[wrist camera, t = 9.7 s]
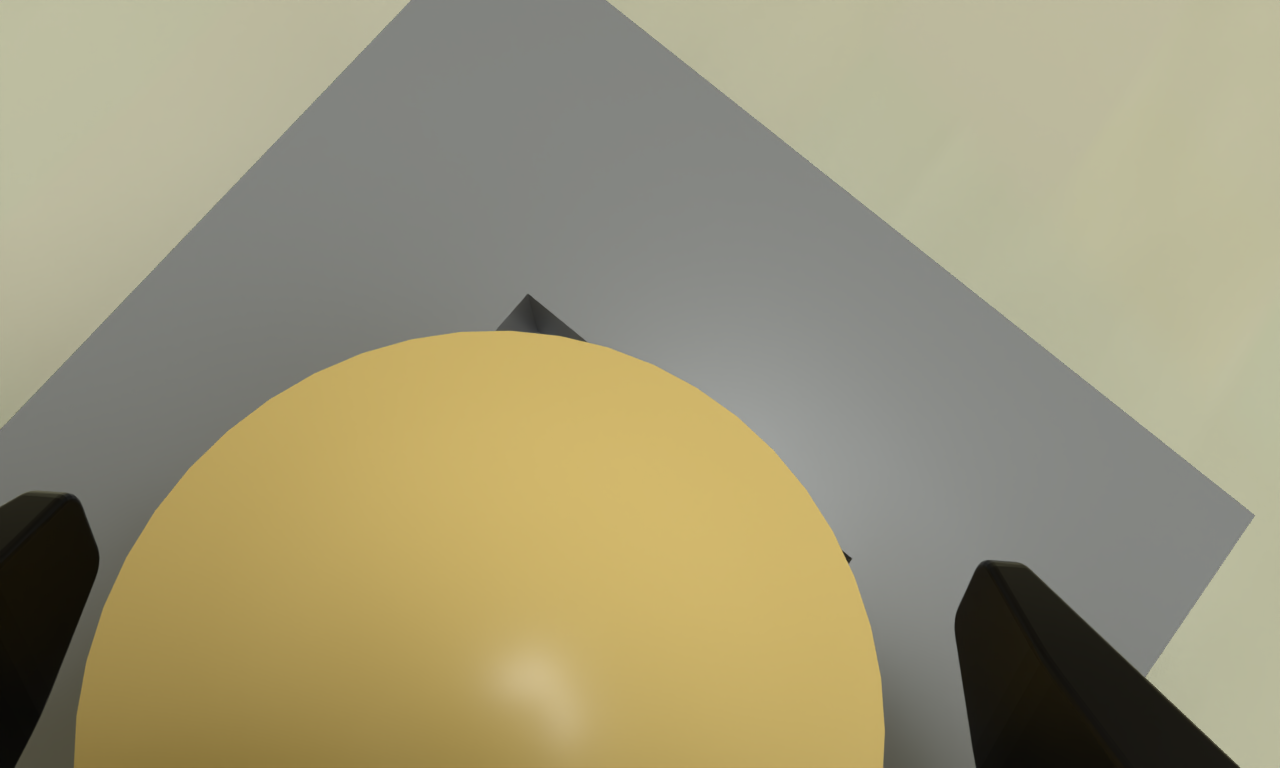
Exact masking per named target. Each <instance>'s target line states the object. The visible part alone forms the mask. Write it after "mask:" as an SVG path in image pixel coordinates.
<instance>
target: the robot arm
mask: <svg viewBox="0 0 1280 768" xmlns="http://www.w3.org/2000/svg"><path fill="white" fill-rule="evenodd" d="M99 562H100V556H99V549H98V546H97V543H96V541H95V538H94V535H93V533H92V530H91V527H90V525H89V522H88V519H87V516H86V514H85V511H84V508H83V506H82V503H81V501H80V500H79V499H78V498H77V497H76V496H75V495H74V494H70V493H66V492H52V491H38V490H35V491H28V492H25V493H23V494H21V495H19V496H17V497H15V498H14V499H12V500H10V501H9V502H7V503H5V504H3V505H2V506H0V768H15V766H16V764H17V762H18V760H19V758H20V757H21V755H22V753H23V751H24V749H25V747H26V745H27V743H28V741H29V739H30V737H31V735H32V733H33V731H34V729H35V727H36V725H37V723H38V721H39V719H40V717H41V715H42V712H43V710H44V708H45V705H46V703H47V701H48V698H49V696H50V694H51V691H52V689H53V686H54V684H55V681H56V679H57V676H58V673H59V671H60V668H61V666H62V663H63V661H64V658H65V656H66V653H67V650H68V648H69V645H70V643H71V640H72V638H73V635H74V633H75V630H76V628H77V625H78V622H79V620H80V617H81V615H82V612H83V610H84V607H85V605H86V602H87V599H88V597H89V594H90V592H91V589H92V587H93V584H94V582H95V579H96V576H97V573H98V569H99ZM954 632H955V639H956V646H957V652H958V659H959V665H960V672H961V678H962V685H963V691H964V698H965V704H966V711H967V717H968V724H969V730H970V737H971V743H972V750H973V755H974V761H975V766H976V768H1240V767H1239V766H1238V765H1237V764H1236V763H1235V762H1234V761H1233V760H1232V759H1231V758H1230V757H1229V756H1228V755H1227V754H1225V753H1224V752H1223V751H1222V750H1221V749H1220V748H1219V747H1218V746H1217V745H1216V744H1215V743H1214V742H1213V741H1212V740H1211V739H1210V738H1209V737H1208V736H1206V735H1205V734H1204V733H1203V732H1202V731H1201V730H1200V729H1199V728H1198V727H1197V726H1196V725H1195V724H1194V723H1193V722H1192V721H1191V720H1190V719H1188V718H1187V717H1186V716H1185V715H1184V714H1183V713H1182V712H1181V711H1180V710H1179V709H1178V708H1177V707H1176V706H1175V705H1174V704H1173V703H1172V702H1170V701H1169V700H1168V699H1167V698H1166V697H1165V696H1164V695H1163V694H1162V693H1161V692H1160V691H1159V690H1158V689H1157V688H1156V687H1155V686H1154V685H1153V684H1151V683H1150V682H1149V681H1148V680H1147V679H1146V678H1145V677H1144V676H1143V675H1142V674H1141V673H1140V672H1139V671H1138V670H1137V669H1136V668H1135V667H1133V666H1132V665H1131V664H1130V663H1129V662H1128V661H1127V660H1126V659H1125V658H1124V657H1123V656H1122V655H1121V654H1120V653H1119V652H1118V651H1117V650H1115V649H1114V648H1113V647H1112V646H1111V645H1110V644H1109V643H1108V642H1107V641H1106V640H1105V639H1104V638H1103V637H1102V636H1101V635H1100V634H1099V633H1098V632H1096V631H1095V630H1094V629H1093V628H1092V627H1091V626H1090V625H1089V624H1088V623H1087V622H1086V621H1085V620H1084V619H1083V618H1082V617H1081V616H1080V615H1078V614H1077V613H1076V612H1075V611H1074V610H1073V609H1072V608H1071V607H1070V606H1069V605H1068V604H1067V603H1066V602H1065V601H1064V600H1063V599H1062V598H1060V597H1059V596H1058V595H1057V594H1056V593H1055V592H1054V591H1053V590H1052V589H1051V588H1050V587H1049V586H1048V585H1047V584H1046V583H1045V582H1044V581H1043V580H1041V579H1040V578H1039V577H1038V576H1037V575H1036V574H1035V573H1034V572H1033V571H1032V570H1031V569H1030V568H1028V567H1027V566H1026V565H1024V564H1022V563H1019V562H1012V561H999V560H984V561H982V562H981V563H980V564H979V565H978V566H977V568H976V569H975V571H974V573H973V576H972V578H971V580H970V582H969V584H968V587H967V589H966V591H965V593H964V595H963V598H962V600H961V602H960V604H959V606H958V609H957V612H956V615H955V623H954Z"/></svg>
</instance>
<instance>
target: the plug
mask: <svg viewBox="0 0 1280 768" xmlns="http://www.w3.org/2000/svg"><path fill="white" fill-rule="evenodd" d="M884 739H885V726H884V712H883V698H882V683H881V675H880V670H879V665H878V660H877V655H876V650H875V645H874V639H873V634H872V629H871V625H870V622H869V619H868V616H867V613H866V610H865V607H864V604H863V601H862V598H861V595H860V592H859V589H858V586H857V583H856V580H855V577H854V575H853V573H852V571H851V569H850V566H849V564H848V562H847V560H846V558H845V556H844V554H843V552H842V550H841V547H840V545H839V543H838V541H837V539H836V537H835V535H834V533H833V531H832V529H831V528H830V526H829V525H828V523H827V521H826V520H825V518H824V517H823V515H822V514H821V512H820V510H819V509H818V507H817V506H816V504H815V503H814V501H813V499H812V498H811V496H810V495H809V493H808V492H807V490H806V489H805V487H804V486H803V485H802V484H801V483H800V481H799V480H798V479H797V478H796V477H795V475H794V474H793V473H792V472H791V471H790V469H789V468H788V467H787V466H786V465H785V463H784V462H783V461H782V460H781V459H780V457H779V456H778V455H777V454H776V453H775V451H774V450H773V449H772V448H770V447H769V446H768V445H767V444H766V443H765V442H764V441H763V440H762V439H761V438H760V437H759V436H758V435H756V434H755V433H754V432H753V431H752V430H751V429H750V428H749V427H748V426H747V425H746V424H745V423H744V422H742V421H741V420H740V419H739V418H738V417H737V416H736V415H734V414H733V413H731V412H730V411H729V410H727V409H726V408H724V407H723V406H722V405H720V404H719V403H717V402H716V401H715V400H713V399H712V398H710V397H709V396H708V395H706V394H705V393H703V392H702V391H701V390H699V389H698V388H696V387H694V386H692V385H691V384H689V383H687V382H685V381H683V380H681V379H679V378H677V377H676V376H674V375H672V374H670V373H668V372H666V371H664V370H662V369H661V368H659V367H657V366H655V365H653V364H650V363H648V362H645V361H642V360H640V359H637V358H634V357H632V356H629V355H626V354H624V353H621V352H619V351H616V350H613V349H611V348H608V347H604V346H600V345H596V344H591V343H587V342H583V341H579V340H575V339H570V338H566V337H562V336H555V335H546V334H536V333H527V332H517V331H479V332H457V333H450V334H444V335H437V336H430V337H424V338H417V339H411V340H407V341H404V342H400V343H397V344H393V345H389V346H386V347H382V348H379V349H375V350H372V351H368V352H365V353H361V354H359V355H357V356H354V357H352V358H350V359H347V360H345V361H343V362H340V363H338V364H335V365H333V366H331V367H328V368H326V369H324V370H321V371H319V372H317V373H314V374H313V375H311V376H309V377H307V378H306V379H304V380H302V381H301V382H299V383H297V384H295V385H294V386H292V387H290V388H288V389H287V390H285V391H283V392H282V393H280V394H278V395H276V396H275V397H273V398H271V399H269V400H268V401H267V402H265V403H264V404H263V405H262V406H260V407H259V408H258V409H256V410H255V411H254V412H252V413H251V414H250V415H248V416H247V417H246V418H244V419H243V420H242V421H240V422H239V423H238V424H236V425H235V426H234V427H233V428H231V429H230V430H229V431H227V432H226V433H225V434H224V435H223V436H222V437H221V438H220V439H219V440H218V441H217V442H216V443H215V444H214V445H213V446H212V447H211V448H210V449H209V450H208V451H207V452H206V453H205V454H204V455H203V456H202V457H201V458H200V459H198V460H197V461H196V462H195V463H194V464H193V465H192V466H191V467H190V468H189V469H188V471H187V472H186V473H185V474H184V476H183V477H182V478H181V479H180V481H179V482H178V483H177V484H176V486H175V487H174V488H173V489H172V491H171V492H170V493H169V494H168V496H167V497H166V498H165V499H164V500H163V502H162V503H161V504H160V505H159V507H158V508H157V509H156V510H155V512H154V514H153V515H152V517H151V518H150V520H149V522H148V523H147V525H146V526H145V528H144V530H143V531H142V533H141V535H140V536H139V538H138V539H137V541H136V543H135V544H134V546H133V548H132V549H131V551H130V552H129V554H128V556H127V557H126V559H125V561H124V564H123V566H122V568H121V570H120V572H119V575H118V577H117V579H116V581H115V583H114V585H113V588H112V590H111V592H110V594H109V596H108V599H107V601H106V603H105V605H104V607H103V610H102V613H101V617H100V620H99V623H98V626H97V629H96V632H95V636H94V639H93V642H92V645H91V648H90V651H89V655H88V658H87V661H86V666H85V672H84V677H83V683H82V688H81V694H80V700H79V705H78V711H77V716H76V735H75V754H74V768H883V757H884Z"/></svg>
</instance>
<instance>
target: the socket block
mask: <svg viewBox="0 0 1280 768" xmlns="http://www.w3.org/2000/svg"><path fill="white" fill-rule="evenodd" d="M479 331H517V332H527V333H536V334H546V335H555V336H562V337H566V338H570V339H575V340H579V341H583V342H587V343H591V344H596V345H600V346H604V347H608V348H611V349H613V350H616V351H619V352H621V353H624V354H626V355H629V356H632V357H634V358H637V359H640V360H642V361H645V362H648V363H650V364H653V365H655V366H657V367H659V368H661V369H662V370H664V371H666V372H668V373H670V374H672V375H674V376H676V377H677V378H679V379H681V380H683V381H685V382H687V383H689V384H691V385H692V386H694V387H696V388H698V389H699V390H701V391H702V392H703V393H705V394H706V395H708V396H709V397H710V398H712V399H713V400H715V401H716V402H717V403H719V404H720V405H722V406H723V407H724V408H726V409H727V410H729V411H730V412H731V413H733V414H734V415H736V416H737V417H738V418H739V419H740V420H741V421H742V422H744V423H745V424H746V425H747V426H748V427H749V428H750V429H751V430H752V431H753V432H754V433H755V434H756V435H758V436H759V437H760V438H761V439H762V440H763V441H764V442H765V443H766V444H767V445H768V446H769V447H770V448H772V449H773V450H774V451H775V453H776V454H777V455H778V456H779V457H780V459H781V460H782V461H783V462H784V463H785V465H786V466H787V467H788V468H789V469H790V471H791V472H792V473H793V474H794V475H795V477H796V478H797V479H798V480H799V481H800V483H801V484H802V485H803V486H804V487H805V489H806V490H807V492H808V493H809V495H810V496H811V498H812V499H813V501H814V503H815V504H816V506H817V507H818V509H819V510H820V512H821V514H822V515H823V517H824V518H825V520H826V521H827V523H828V525H829V526H830V528H831V529H832V531H833V533H834V535H835V537H836V539H837V541H838V543H839V545H840V547H841V550H842V552H843V554H844V556H845V558H846V560H847V562H848V564H849V566H850V569H851V571H852V573H853V575H854V577H855V580H856V583H857V586H858V589H859V592H860V595H861V598H862V601H863V604H864V607H865V610H866V613H867V616H868V619H869V622H870V625H871V629H872V634H873V639H874V645H875V650H876V655H877V660H878V665H879V670H880V675H881V683H882V698H883V712H884V726H885V739H884V757H883V768H976V766H975V761H974V755H973V750H972V743H971V737H970V730H969V724H968V717H967V711H966V704H965V698H964V691H963V685H962V678H961V672H960V665H959V659H958V652H957V646H956V639H955V632H954V623H955V615H956V612H957V609H958V606H959V604H960V602H961V600H962V598H963V595H964V593H965V591H966V589H967V587H968V584H969V582H970V580H971V578H972V576H973V573H974V571H975V569H976V568H977V566H978V565H979V564H980V563H981V562H982V561H984V560H999V561H1012V562H1019V563H1022V564H1024V565H1026V566H1027V567H1028V568H1030V569H1031V570H1032V571H1033V572H1034V573H1035V574H1036V575H1037V576H1038V577H1039V578H1040V579H1041V580H1043V581H1044V582H1045V583H1046V584H1047V585H1048V586H1049V587H1050V588H1051V589H1052V590H1053V591H1054V592H1055V593H1056V594H1057V595H1058V596H1059V597H1060V598H1062V599H1063V600H1064V601H1065V602H1066V603H1067V604H1068V605H1069V606H1070V607H1071V608H1072V609H1073V610H1074V611H1075V612H1076V613H1077V614H1078V615H1080V616H1081V617H1082V618H1083V619H1084V620H1085V621H1086V622H1087V623H1088V624H1089V625H1090V626H1091V627H1092V628H1093V629H1094V630H1095V631H1096V632H1098V633H1099V634H1100V635H1101V636H1102V637H1103V638H1104V639H1105V640H1106V641H1107V642H1108V643H1109V644H1110V645H1111V646H1112V647H1113V648H1114V649H1115V650H1117V651H1118V652H1119V653H1120V654H1121V655H1122V656H1123V657H1124V658H1125V659H1126V660H1127V661H1128V662H1129V663H1130V664H1131V665H1132V666H1133V667H1135V668H1136V669H1137V670H1138V671H1139V672H1140V673H1141V674H1142V675H1143V676H1144V677H1146V675H1147V674H1148V672H1149V671H1150V669H1151V668H1152V666H1153V665H1154V664H1155V662H1156V661H1157V659H1158V658H1159V656H1160V655H1161V653H1162V652H1163V650H1164V649H1165V647H1166V646H1167V644H1168V643H1169V641H1170V640H1171V638H1172V637H1173V636H1174V634H1175V633H1176V631H1177V630H1178V628H1179V627H1180V625H1181V624H1182V622H1183V621H1184V619H1185V618H1186V616H1187V615H1188V613H1189V612H1190V610H1191V609H1192V608H1193V606H1194V605H1195V603H1196V602H1197V600H1198V599H1199V597H1200V596H1201V594H1202V593H1203V591H1204V590H1205V588H1206V587H1207V585H1208V584H1209V582H1210V581H1211V580H1212V578H1213V577H1214V575H1215V574H1216V572H1217V571H1218V569H1219V568H1220V566H1221V565H1222V563H1223V562H1224V560H1225V559H1226V557H1227V556H1228V554H1229V553H1230V552H1231V550H1232V549H1233V547H1234V546H1235V544H1236V543H1237V541H1238V540H1239V538H1240V537H1241V535H1242V534H1243V532H1244V531H1245V529H1246V528H1247V526H1248V525H1249V524H1250V522H1251V521H1252V519H1253V518H1254V516H1255V515H1254V514H1253V513H1251V512H1250V511H1249V510H1248V509H1246V508H1245V507H1244V506H1243V505H1241V504H1240V503H1239V502H1237V501H1236V500H1235V499H1234V498H1232V497H1231V496H1230V495H1229V494H1227V493H1226V492H1225V491H1224V490H1222V489H1221V488H1220V487H1219V486H1217V485H1216V484H1215V483H1214V482H1212V481H1211V480H1210V479H1208V478H1207V477H1206V476H1205V475H1203V474H1202V473H1201V472H1200V471H1198V470H1197V469H1196V468H1195V467H1193V466H1192V465H1191V464H1190V463H1188V462H1187V461H1186V460H1185V459H1183V458H1182V457H1181V456H1179V455H1178V454H1177V453H1176V452H1174V451H1173V450H1172V449H1171V448H1169V447H1168V446H1167V445H1166V444H1164V443H1163V442H1162V441H1161V440H1159V439H1158V438H1157V437H1156V436H1154V435H1153V434H1152V433H1151V432H1149V431H1148V430H1147V429H1145V428H1144V427H1143V426H1142V425H1140V424H1139V423H1138V422H1137V421H1135V420H1134V419H1133V418H1132V417H1130V416H1129V415H1128V414H1127V413H1125V412H1124V411H1123V410H1122V409H1120V408H1119V407H1118V406H1116V405H1115V404H1114V403H1113V402H1111V401H1110V400H1109V399H1108V398H1106V397H1105V396H1104V395H1103V394H1101V393H1100V392H1099V391H1098V390H1096V389H1095V388H1094V387H1093V386H1091V385H1090V384H1089V383H1087V382H1086V381H1085V380H1084V379H1082V378H1081V377H1080V376H1079V375H1077V374H1076V373H1075V372H1074V371H1072V370H1071V369H1070V368H1069V367H1067V366H1066V365H1065V364H1064V363H1062V362H1061V361H1060V360H1059V359H1057V358H1056V357H1055V356H1053V355H1052V354H1051V353H1050V352H1048V351H1047V350H1046V349H1045V348H1043V347H1042V346H1041V345H1040V344H1038V343H1037V342H1036V341H1035V340H1033V339H1032V338H1031V337H1030V336H1028V335H1027V334H1026V333H1024V332H1023V331H1022V330H1021V329H1019V328H1018V327H1017V326H1016V325H1014V324H1013V323H1012V322H1011V321H1009V320H1008V319H1007V318H1006V317H1004V316H1003V315H1002V314H1001V313H999V312H998V311H997V310H996V309H994V308H993V307H992V306H990V305H989V304H988V303H987V302H985V301H984V300H983V299H982V298H980V297H979V296H978V295H977V294H975V293H974V292H973V291H972V290H970V289H969V288H968V287H967V286H965V285H964V284H963V283H961V282H960V281H959V280H958V279H956V278H955V277H954V276H953V275H951V274H950V273H949V272H948V271H946V270H945V269H944V268H943V267H941V266H940V265H939V264H938V263H936V262H935V261H934V260H932V259H931V258H930V257H929V256H927V255H926V254H925V253H924V252H922V251H921V250H920V249H919V248H917V247H916V246H915V245H914V244H912V243H911V242H910V241H909V240H907V239H906V238H905V237H904V236H902V235H901V234H900V233H898V232H897V231H896V230H895V229H893V228H892V227H891V226H890V225H888V224H887V223H886V222H885V221H883V220H882V219H881V218H880V217H878V216H877V215H876V214H875V213H873V212H872V211H871V210H869V209H868V208H867V207H866V206H864V205H863V204H862V203H861V202H859V201H858V200H857V199H856V198H854V197H853V196H852V195H851V194H849V193H848V192H847V191H846V190H844V189H843V188H842V187H840V186H839V185H838V184H837V183H835V182H834V181H833V180H832V179H830V178H829V177H828V176H827V175H825V174H824V173H823V172H822V171H820V170H819V169H818V168H817V167H815V166H814V165H813V164H812V163H810V162H809V161H808V160H806V159H805V158H804V157H803V156H801V155H800V154H799V153H798V152H796V151H795V150H794V149H793V148H791V147H790V146H789V145H788V144H786V143H785V142H784V141H783V140H781V139H780V138H779V137H777V136H776V135H775V134H774V133H772V132H771V131H770V130H769V129H767V128H766V127H765V126H764V125H762V124H761V123H760V122H759V121H757V120H756V119H755V118H754V117H752V116H751V115H750V114H748V113H747V112H746V111H745V110H743V109H742V108H741V107H740V106H738V105H737V104H736V103H735V102H733V101H732V100H731V99H730V98H728V97H727V96H726V95H725V94H723V93H722V92H721V91H720V90H718V89H717V88H716V87H714V86H713V85H712V84H711V83H709V82H708V81H707V80H706V79H704V78H703V77H702V76H701V75H699V74H698V73H697V72H696V71H694V70H693V69H692V68H691V67H689V66H688V65H687V64H685V63H684V62H683V61H682V60H680V59H679V58H678V57H677V56H675V55H674V54H673V53H672V52H670V51H669V50H668V49H667V48H665V47H664V46H663V45H662V44H660V43H659V42H658V41H656V40H655V39H654V38H653V37H651V36H650V35H649V34H648V33H646V32H645V31H644V30H643V29H641V28H640V27H639V26H638V25H636V24H635V23H634V22H633V21H631V20H630V19H629V18H628V17H626V16H625V15H624V14H622V13H621V12H620V11H619V10H617V9H616V8H615V7H614V6H612V5H611V4H610V3H609V2H607V1H606V0H411V1H410V2H409V3H408V4H407V5H406V6H405V7H404V8H403V9H402V10H401V11H400V12H399V14H398V15H397V16H396V17H395V18H394V19H393V20H392V21H391V22H390V23H389V24H388V25H387V26H386V27H385V28H384V29H383V30H382V31H381V32H380V33H379V34H378V35H377V37H376V38H375V39H374V40H373V41H372V42H371V43H370V44H369V45H368V46H367V47H366V48H365V49H364V50H363V51H362V52H361V53H360V54H359V55H358V56H357V57H356V58H355V60H354V61H353V62H352V63H351V64H350V65H349V66H348V67H347V68H346V69H345V70H344V71H343V72H342V73H341V74H340V75H339V76H338V77H337V78H336V79H335V80H334V81H333V83H332V84H331V85H330V86H329V87H328V88H327V89H326V90H325V91H324V92H323V93H322V94H321V95H320V96H319V97H318V98H317V99H316V100H315V101H314V102H313V103H312V104H311V106H310V107H309V108H308V109H307V110H306V111H305V112H304V113H303V114H302V115H301V116H300V117H299V118H298V119H297V120H296V121H295V122H294V123H293V124H292V125H291V126H290V127H289V129H288V130H287V131H286V132H285V133H284V134H283V135H282V136H281V137H280V138H279V139H278V140H277V141H276V142H275V143H274V144H273V145H272V146H271V147H270V148H269V149H268V150H267V152H266V153H265V154H264V155H263V156H262V157H261V158H260V159H259V160H258V161H257V162H256V163H255V164H254V165H253V166H252V167H251V168H250V169H249V170H248V171H247V172H246V173H245V175H244V176H243V177H242V178H241V179H240V180H239V181H238V182H237V183H236V184H235V185H234V186H233V187H232V188H231V189H230V190H229V191H228V192H227V193H226V194H225V195H224V196H223V198H222V199H221V200H220V201H219V202H218V203H217V204H216V205H215V206H214V207H213V208H212V209H211V210H210V211H209V212H208V213H207V214H206V215H205V216H204V217H203V218H202V219H201V221H200V222H199V223H198V224H197V225H196V226H195V227H194V228H193V229H192V230H191V231H190V232H189V233H188V234H187V235H186V236H185V237H184V238H183V239H182V240H181V241H180V242H179V244H178V245H177V246H176V247H175V248H174V249H173V250H172V251H171V252H170V253H169V254H168V255H167V256H166V257H165V258H164V259H163V260H162V261H161V262H160V263H159V264H158V265H157V267H156V268H155V269H154V270H153V271H152V272H151V273H150V274H149V275H148V276H147V277H146V278H145V279H144V280H143V281H142V282H141V283H140V284H139V285H138V286H137V287H136V288H135V290H134V291H133V292H132V293H131V294H130V295H129V296H128V297H127V298H126V299H125V300H124V301H123V302H122V303H121V304H120V305H119V306H118V307H117V308H116V309H115V310H114V311H113V313H112V314H111V315H110V316H109V317H108V318H107V319H106V320H105V321H104V322H103V323H102V324H101V325H100V326H99V327H98V328H97V329H96V330H95V331H94V332H93V333H92V334H91V336H90V337H89V338H88V339H87V340H86V341H85V342H84V343H83V344H82V345H81V346H80V347H79V348H78V349H77V350H76V351H75V352H74V353H73V354H72V355H71V356H70V357H69V359H68V360H67V361H66V362H65V363H64V364H63V365H62V366H61V367H60V368H59V369H58V370H57V371H56V372H55V373H54V374H53V375H52V376H51V377H50V378H49V379H48V380H47V381H46V383H45V384H44V385H43V386H42V387H41V388H40V389H39V390H38V391H37V392H36V393H35V394H34V395H33V396H32V397H31V398H30V399H29V400H28V401H27V402H26V403H25V404H24V406H23V407H22V408H21V409H20V410H19V411H18V412H17V413H16V414H15V415H14V416H13V417H12V418H11V419H10V420H9V421H8V422H7V423H6V424H5V425H4V426H3V427H2V429H1V430H0V506H2V505H3V504H5V503H7V502H9V501H10V500H12V499H14V498H15V497H17V496H19V495H21V494H23V493H25V492H28V491H35V490H38V491H52V492H66V493H70V494H74V495H75V496H76V497H77V498H78V499H79V500H80V501H81V503H82V506H83V508H84V511H85V514H86V516H87V519H88V522H89V525H90V527H91V530H92V533H93V535H94V538H95V541H96V543H97V546H98V549H99V556H100V562H99V569H98V573H97V576H96V579H95V582H94V584H93V587H92V589H91V592H90V594H89V597H88V599H87V602H86V605H85V607H84V610H83V612H82V615H81V617H80V620H79V622H78V625H77V628H76V630H75V633H74V635H73V638H72V640H71V643H70V645H69V648H68V650H67V653H66V656H65V658H64V661H63V663H62V666H61V668H60V671H59V673H58V676H57V679H56V681H55V684H54V686H53V689H52V691H51V694H50V696H49V698H48V701H47V703H46V705H45V708H44V710H43V712H42V715H41V717H40V719H39V721H38V723H37V725H36V727H35V729H34V731H33V733H32V735H31V737H30V739H29V741H28V743H27V745H26V747H25V749H24V751H23V753H22V755H21V757H20V758H19V760H18V762H17V764H16V766H15V768H74V754H75V735H76V716H77V711H78V705H79V700H80V694H81V688H82V683H83V677H84V672H85V666H86V661H87V658H88V655H89V651H90V648H91V645H92V642H93V639H94V636H95V632H96V629H97V626H98V623H99V620H100V617H101V613H102V610H103V607H104V605H105V603H106V601H107V599H108V596H109V594H110V592H111V590H112V588H113V585H114V583H115V581H116V579H117V577H118V575H119V572H120V570H121V568H122V566H123V564H124V561H125V559H126V557H127V556H128V554H129V552H130V551H131V549H132V548H133V546H134V544H135V543H136V541H137V539H138V538H139V536H140V535H141V533H142V531H143V530H144V528H145V526H146V525H147V523H148V522H149V520H150V518H151V517H152V515H153V514H154V512H155V510H156V509H157V508H158V507H159V505H160V504H161V503H162V502H163V500H164V499H165V498H166V497H167V496H168V494H169V493H170V492H171V491H172V489H173V488H174V487H175V486H176V484H177V483H178V482H179V481H180V479H181V478H182V477H183V476H184V474H185V473H186V472H187V471H188V469H189V468H190V467H191V466H192V465H193V464H194V463H195V462H196V461H197V460H198V459H200V458H201V457H202V456H203V455H204V454H205V453H206V452H207V451H208V450H209V449H210V448H211V447H212V446H213V445H214V444H215V443H216V442H217V441H218V440H219V439H220V438H221V437H222V436H223V435H224V434H225V433H226V432H227V431H229V430H230V429H231V428H233V427H234V426H235V425H236V424H238V423H239V422H240V421H242V420H243V419H244V418H246V417H247V416H248V415H250V414H251V413H252V412H254V411H255V410H256V409H258V408H259V407H260V406H262V405H263V404H264V403H265V402H267V401H268V400H269V399H271V398H273V397H275V396H276V395H278V394H280V393H282V392H283V391H285V390H287V389H288V388H290V387H292V386H294V385H295V384H297V383H299V382H301V381H302V380H304V379H306V378H307V377H309V376H311V375H313V374H314V373H317V372H319V371H321V370H324V369H326V368H328V367H331V366H333V365H335V364H338V363H340V362H343V361H345V360H347V359H350V358H352V357H354V356H357V355H359V354H361V353H365V352H368V351H372V350H375V349H379V348H382V347H386V346H389V345H393V344H397V343H400V342H404V341H407V340H411V339H417V338H424V337H430V336H437V335H444V334H450V333H457V332H479Z"/></svg>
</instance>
